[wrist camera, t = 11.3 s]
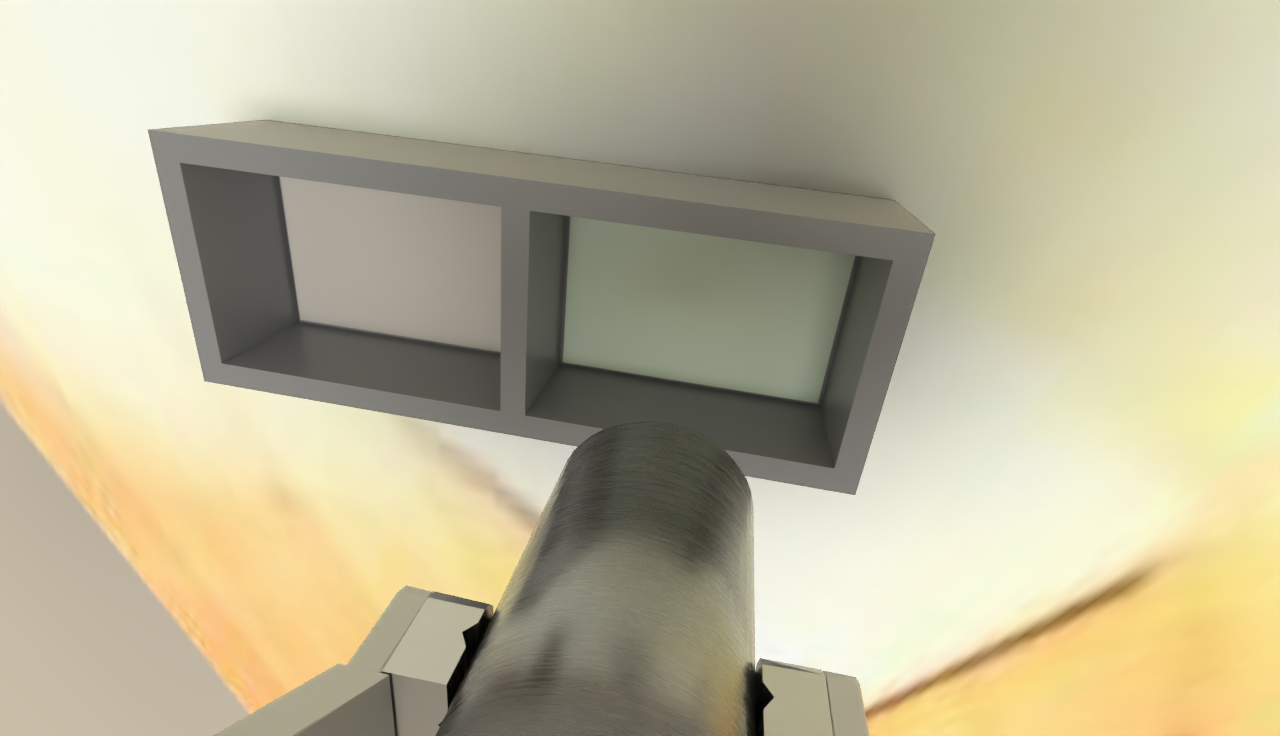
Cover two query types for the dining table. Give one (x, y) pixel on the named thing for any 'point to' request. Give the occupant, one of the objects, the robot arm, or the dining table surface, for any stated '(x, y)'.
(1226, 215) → the dining table surface
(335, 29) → the dining table surface
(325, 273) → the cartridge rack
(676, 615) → the metal cell
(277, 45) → the dining table surface
